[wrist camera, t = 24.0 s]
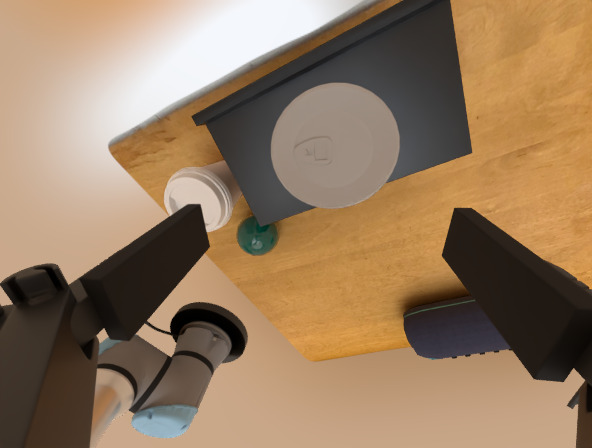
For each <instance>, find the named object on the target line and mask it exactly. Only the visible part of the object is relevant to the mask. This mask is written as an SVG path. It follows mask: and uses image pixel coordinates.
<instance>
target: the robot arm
mask: <svg viewBox="0 0 592 448" xmlns="http://www.w3.org/2000/svg"><path fill="white" fill-rule="evenodd" d="M209 247H210V245H209V240H208V236H207V231H206V226H205V222H204V217H203V212H202V208H201V204H187V205H185V206H184V207H183V208H181V209H180V210H178V211H177V212H175V213H174V214H172V215H171V216H169V217H168V218H167V219H165V220H164V221H162V222H161V223H159V224H158V225H156V226H155V227H153V228H152V229H151V230H149V231H148V232H146V233H145V234H143V235H142V236H140V237H139V238H138V239H136V240H135V241H133V242H132V243H131V244H129V245H128V246H126V247H124V248H123V249H121V250H119V251H118V252H116V253H115V254H113V255H112V256H110V257H109V258H108V259H106V260H104V261H103V262H101V263H100V265H97V266H96V267H94V268H93V269H91V270H90V271H88V272H87V273H86V274H84V275H83V276H81V277H80V278H78V279H77V280H75V281H74V282H72V283H71V284H69V285H68V283H67V281H66V279H65V278H64V276H63V274H62V272H61V270H60V268H59V267H58V265H56V264H42V265H37V266H33V267H30V268H27V269H24V270H21V271H19V272H17V273H15V274H13V275H11V276H9V277H7V278H6V279H4V280H3V281H2V282H1V283H0V286H1V287H2V288H3V290H4V291H5V293H6V294H7V296H8V297H9V298H10V300H11V301H12V303H13V304H12V305H6V306H1V305H0V448H95V447H96V445H97V444H98V442H99V441H100V439H101V438H102V436H103V434H104V433H105V431H106V430H107V428H108V427H109V425H110V423H111V422H112V420H113V419H116V418H118V417H120V416H122V415H123V414H124V413H126V412H127V411H128V410H129V411H131V412H133V413H134V415H133V417H132V422H131V424H132V426H133V427H134V428H136V430H137V431H139V432H141V433H143V434H146V435H149V436H153V437H159V438H172V437H177V436H179V435H181V434H183V433H185V431H187V429H188V428H189V426H190V424H191V422H192V420H193V418H194V416H195V414H196V413H197V411H198V408H199V405H200V403H201V401H202V398H203V396H204V394H205V391H206V389H207V387H208V384H209V382H210V380H211V377H212V375H213V373H214V371H215V370H216V368H217V367H218V366H219V365H220V364H221V363H222V361H223V360H224V359H225V358H226V357H227V355H228V354H229V352H230V350H231V347H232V338H231V336H230V334H229V333H228V332H227V330H226V329H224V328H223V327H222V326H220V325H219V324H217V323H215V322H213V321H210V320H206V319H194V320H190V321H188V322H187V323H186V324H185V325H184V326H183V328H182V329H181V331H180V333H179V335H177V334H174V333H171V332H168V331H164V330H161V329H159V328H157V327H155V326H153V325H152V324H150V323H149V322H148V321H147V320H148V319H149V318H150V316H151V315H152V314H153V313H154V312H155V311H156V309H157V308H158V307H159V306H160V305H161V304H162V302H163V301H164V300H165V299H166V298H167V296H168V295H169V294H170V293H171V292H172V290H173V289H174V288H175V287H176V286H177V285H178V283H179V282H180V281H181V280H182V279H183V278H184V277H185V275H186V274H187V273H188V272H189V271H190V270H191V268H192V267H193V266H194V265H195V264H196V262H197V261H198V260H199V259H200V258H201V257H202V255H203V254H204V253H205V252H206V251H207V250H208V248H209ZM442 257H443V258H444V259H445V261H446V262H447V263H448V265H449V266H450V267H451V269H452V270H453V271H454V273H455V274H456V275H457V277H458V278H459V279H460V281H461V282H462V283H463V285H464V286H465V287H466V289H467V290H468V291H469V293H470V294H471V295H472V297H473V298H474V299H475V301H476V302H477V304H478V305H479V306H480V308H481V309H482V310H483V312H484V313H485V314H486V316H487V317H488V318H489V320H490V321H491V322H492V324H493V325H494V326H495V328H496V329H497V330H498V332H499V333H500V334H501V336H502V337H503V338H504V340H505V341H506V342H507V344H508V345H509V346H510V348H511V349H512V350H513V352H514V353H515V354H516V356H517V357H518V358H519V360H520V361H521V362H522V364H523V365H524V366H525V368H526V369H527V370H528V372H529V373H530V374H531V376H532V377H533V378H534V379H536V380H547V381H557V382H564V381H565V379H566V378H567V377H568V375H569V374H570V372H571V371H572V369H573V368H574V369H575V370H576V371H577V372H578V373H579V374H580V375H581V376H582V377H583V378H584V379H585V382H584V383H583V384H582V386H581V387H580V388H579V390H578V391H577V392H576V393H575V395H574V396H573V397H572V399H571V400H570V401H569V403H568V405H567V406H568V407H570V408H572V409H573V408H574V406H575V405H576V404H578V421H577V439H576V448H592V289H589V287H588V286H587V285H585V284H584V283H582V282H581V281H577V278H575V277H574V276H572V275H571V274H569V273H568V272H567V271H565V270H564V269H562V268H560V267H558V266H556V265H554V264H551V263H549V262H547V261H545V260H543V259H541V258H540V257H539V256H537V255H536V254H534V253H533V252H532V251H530V250H529V249H527V248H526V247H525V246H523V245H522V244H521V243H519V242H518V241H516V240H515V239H514V238H512V237H511V236H509V235H508V234H507V233H505V232H504V231H503V230H501V229H500V228H498V227H497V226H496V225H494V224H493V223H491V222H490V221H489V220H487V219H486V218H485V217H483V216H482V215H480V214H479V213H478V212H476V211H475V210H473V209H472V208H454V211H453V215H452V219H451V223H450V226H449V230H448V234H447V238H446V242H445V245H444V249H443V253H442ZM144 323H145V324H147V325H148V326H149V327H151V328H152V329H154V330H156V331H158V332H161V333H164V334H167V335H171V336H174V337H177V338H178V341H177V345H176V348H175V352H174V354H173V356H172V357H170V356H168V355H166V354H165V353H163V352H162V351H160V350H159V349H157V348H156V347H154V346H153V345H151V344H150V343H148V342H147V341H145V340H144V339H142V338H141V337H139V336H138V335H135V334H136V333H137V332H138V330H139V329H140V328H141V327H142V326H143V325H144ZM103 328H105V330H106V332H107V334H108V336H109V337H108V338H106V339H105V340H104V341H103V342H102V343H100V344H99V340H98V338H97V336H96V335H97V334H98V333H99V332H100V331H101V330H102V329H103Z"/></svg>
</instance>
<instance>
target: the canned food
mask: <svg viewBox="0 0 592 448" xmlns="http://www.w3.org/2000/svg"><path fill="white" fill-rule="evenodd" d="M399 149H400V136H399V131H398V127H397V123H396V121H395V119H394V116H393V114H392V112H391V111H390V109H389V108H388V107H387V106H386V104H385V103H384V102H383V101H382V100H381V99H380V98H379V97H377V96H376V95H375V94H374V93H372V92H371V91H369V90H367V89H365V88H363V87H360V86H358V85H353V84H349V83H328V84H323V85H319V86H316V87H314V88H312V89H309V90H307V91H305V92H304V93H302V94H301V95H299V96H298V97H296V98H295V99H294V100H293V101H292V102H291V103H290V104H289V105H288V106H287V107H286V108H285V109H284V111H283V113H282V114H281V116H280V117H279V119H278V121H277V123H276V126H275V128H274V131H273V135H272V141H271V158H272V163H273V167H274V170H275V172H276V174H277V177H278V178H279V180H280V181H281V183H282V184H283V186H284V187H285V188H286V189H287V190H288V191H289V192H290V193H291V194H292V195H293V196H295V197H296V198H298V199H299V200H301V201H302V202H305V203H307V204H309V205H312V206H316V207H320V208H329V209H336V208H345V207H349V206H352V205H356V204H358V203H360V202H362V201H364V200H366V199H368V198H369V197H371V196H372V195H373V194H375V193H376V192H377V191H378V190H379V189H380V188H381V187H382V186H383V185H384V184H385V183H386V181H387V180H388V178H389V177H390V175H391V174H392V172H393V170H394V167H395V165H396V163H397V159H398V154H399Z"/></svg>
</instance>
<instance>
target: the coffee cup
mask: <svg viewBox="0 0 592 448" xmlns="http://www.w3.org/2000/svg"><path fill="white" fill-rule="evenodd" d="M242 194H243V193H242V191H241V190H240V188H239V186H238V184H237V182H236V180H235V178H234V176H233V175H232V173H231V171H230V169H229V167H228V165H227V163H226V161H225V160H223V161H219V162H216V163H213V164H209V165H206V166H202V167H186V168H182V169H180V170H178V171H177V172H176V173H174V174H173V176H172V177H171V178H170V180H169V181H168V183H167V186H166V190H165V193H164V203H165V207H166V210H167V212H168V214H169V215H170V216H171V215H172V214H174V213H175V212H177V211H178V210H180V209H181V208H183V207H184V206H185V205H187V204H201V208H202V212H203V217H204V222H205V226H206V231H207V232H210V231H214V230H217V229H219V228H221V227H223V226H224V225H225V224H226V223H227V222H228V221H229V219H230V217H231V215H232V211H233V207H234V206H235V204H236V203H237V201H238V200H239V198H240V197H241V195H242Z"/></svg>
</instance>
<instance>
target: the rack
mask: <svg viewBox="0 0 592 448" xmlns="http://www.w3.org/2000/svg"><path fill="white" fill-rule="evenodd" d="M328 83H349V84H353V85H358V86H360V87H363V88H365V89H367V90H369V91H371V92H372V93H374V94H375V95H376V96H377V97H379V98H380V99H381V100H382V101H383V102H384V103H385V104H386V106H387V107H388V108H389V109H390V111H391V112H392V114H393V116H394V119H395V121H396V123H397V127H398V131H399V136H400V149H399V154H398V159H397V163H396V165H395V167H394V170H393V172H392V174H391V175H390V177H389V178H388V180H387V181H386V183H388V182H391V181H393V180H396V179H399V178H402V177H405V176H408V175H411V174H413V173H416V172H419V171H422V170H425V169H428V168H431V167H434V166H436V165H439V164H442V163H445V162H448V161H451V160H454V159H456V158H459V157H462V156H465V155H468V154H471V153H472V147H471V140H470V134H469V127H468V120H467V113H466V106H465V99H464V92H463V86H462V79H461V72H460V65H459V58H458V51H457V44H456V38H455V31H454V24H453V17H452V10H451V3H450V0H403V1H401V2H399V3H397V4H395V5H394V6H392V7H390V8H388V9H386V10H384V11H383V12H381V13H379V14H377V15H375V16H374V17H372V18H370V19H368V20H366V21H364V22H363V23H361V24H359V25H357V26H355V27H353V28H352V29H350V30H348V31H346V32H344V33H342V34H341V35H339V36H337V37H335V38H333V39H331V40H330V41H328V42H326V43H324V44H322V45H320V46H319V47H317V48H315V49H313V50H311V51H309V52H308V53H306V54H304V55H302V56H300V57H299V58H297V59H295V60H293V61H291V62H289V63H288V64H286V65H284V66H282V67H280V68H278V69H277V70H275V71H273V72H271V73H269V74H267V75H266V76H264V77H262V78H260V79H258V80H256V81H255V82H253V83H251V84H249V85H247V86H245V87H244V88H242V89H240V90H238V91H236V92H235V93H233V94H231V95H229V96H227V97H225V98H224V99H222V100H220V101H218V102H216V103H214V104H213V105H211V106H209V107H207V108H205V109H203V110H202V111H200V112H198V113H196V114H194V115H192V118H193V120H194V122H195V124H196V126H200V125H206V126H207V128H208V129H209V131H210V133H211V135H212V137H213V139H214V141H215V143H216V145H217V146H218V148H219V150H220V152H221V154H222V156H223V158H224V160H225V161H226V163H227V165H228V167H229V169H230V171H231V173H232V175H233V176H234V178H235V180H236V182H237V184H238V186H239V188H240V190H241V191H242V193H243V195H244V197H245V199H246V201H247V203H248V205H249V207H250V208H251V210H252V212H253V214H254V216H255V218H256V220H257V222H258V223H259V225H260V227H262V226H264V225H267V224H270V223H273V222H276V221H279V220H282V219H284V218H287V217H290V216H293V215H296V214H299V213H302V212H305V211H307V210H310V209H313V208H316V206H312V205H309V204H307V203H305V202H302V201H301V200H299V199H298V198H296V197H295V196H293V195H292V194H291V193H290V192H289V191H288V190H287V189H286V188H285V187H284V186H283V184H282V183H281V181H280V180H279V178H278V177H277V174H276V172H275V170H274V167H273V163H272V158H271V141H272V135H273V131H274V128H275V126H276V123H277V121H278V119H279V117H280V116H281V114H282V113H283V111H284V109H285V108H286V107H287V106H288V105H289V104H290V103H291V102H292V101H293V100H294V99H295V98H296V97H298V96H299V95H301V94H302V93H304V92H305V91H307V90H309V89H312V88H314V87H316V86H319V85H323V84H328Z"/></svg>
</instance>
